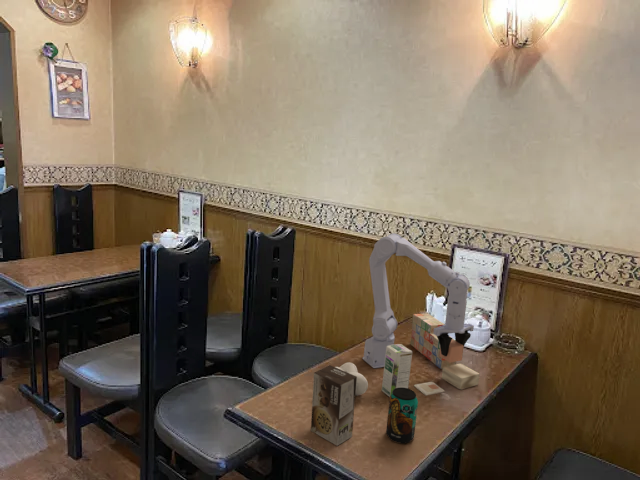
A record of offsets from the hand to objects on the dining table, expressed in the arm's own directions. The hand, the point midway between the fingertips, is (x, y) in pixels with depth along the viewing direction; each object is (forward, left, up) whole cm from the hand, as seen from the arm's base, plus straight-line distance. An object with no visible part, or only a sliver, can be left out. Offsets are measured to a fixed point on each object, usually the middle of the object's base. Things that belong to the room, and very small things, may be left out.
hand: (451, 354), depth 152 cm
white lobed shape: (-37, +1, -9) cm, 38 cm away
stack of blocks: (+7, +17, -9) cm, 20 cm away
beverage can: (-33, -22, -9) cm, 41 cm away
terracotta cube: (0, 0, -1) cm, 1 cm away
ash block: (+3, -3, -9) cm, 10 cm away
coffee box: (-49, -15, -9) cm, 52 cm away
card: (-10, -4, -9) cm, 14 cm away
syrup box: (-22, -3, -9) cm, 24 cm away
